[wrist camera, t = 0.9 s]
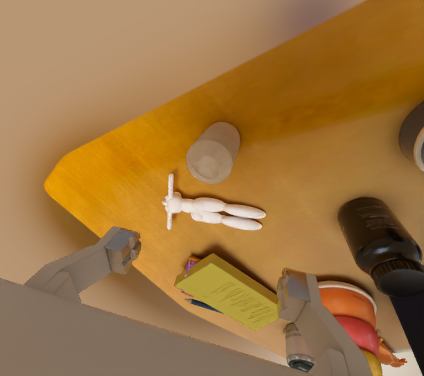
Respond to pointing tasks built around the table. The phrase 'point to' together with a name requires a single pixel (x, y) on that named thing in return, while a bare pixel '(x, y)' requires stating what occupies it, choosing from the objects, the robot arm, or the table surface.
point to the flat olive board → (230, 292)
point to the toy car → (191, 262)
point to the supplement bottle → (382, 247)
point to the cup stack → (413, 136)
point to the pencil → (201, 304)
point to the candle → (214, 153)
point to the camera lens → (297, 350)
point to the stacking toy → (354, 317)
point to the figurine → (388, 356)
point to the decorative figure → (211, 210)
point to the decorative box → (412, 323)
